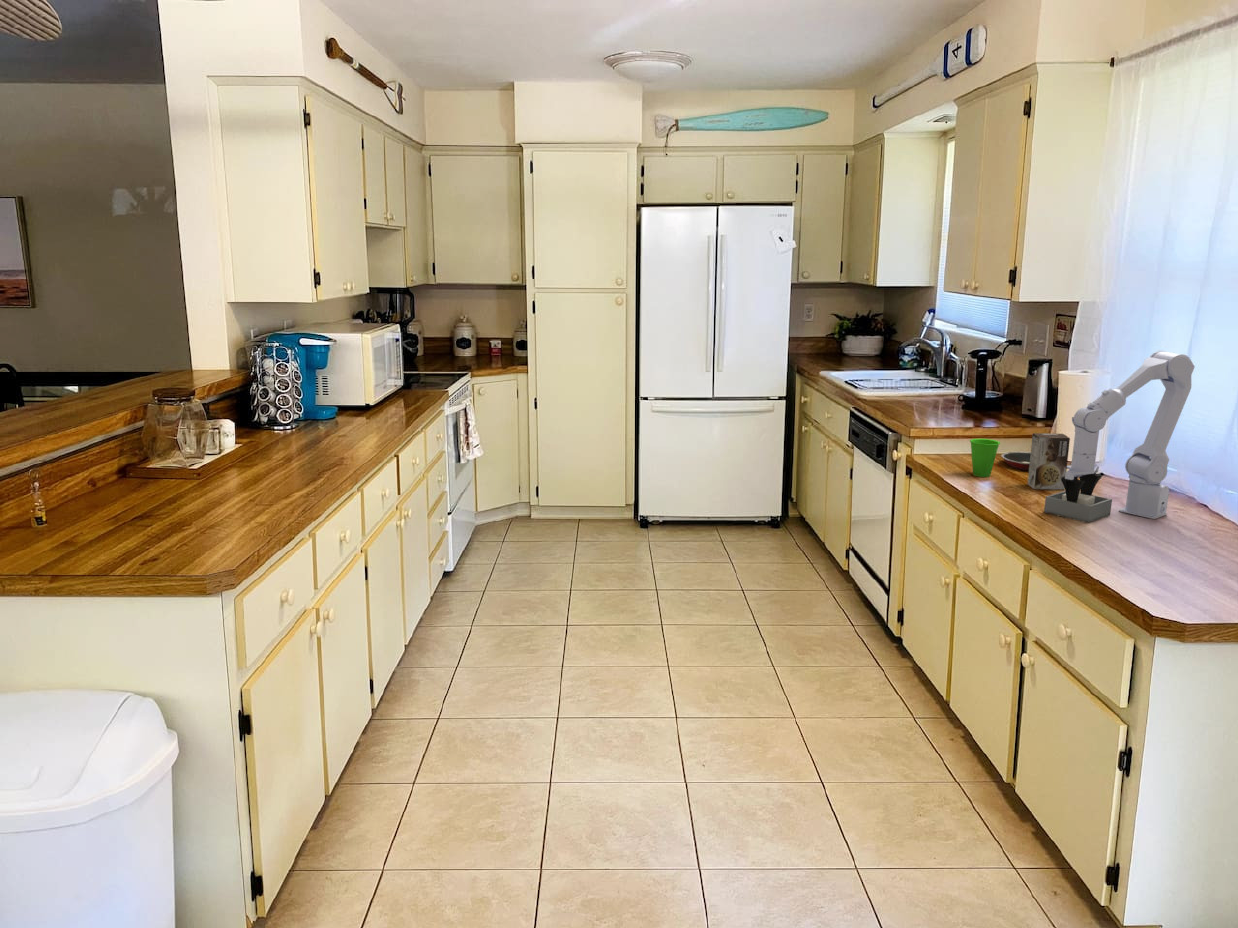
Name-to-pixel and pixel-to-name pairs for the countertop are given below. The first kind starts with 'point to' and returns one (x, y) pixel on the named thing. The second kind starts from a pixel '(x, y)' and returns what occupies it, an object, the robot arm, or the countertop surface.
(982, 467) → the cup
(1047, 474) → the coffee box
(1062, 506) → the grey shallow square box
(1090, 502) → the white crate
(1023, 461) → the frying pan
